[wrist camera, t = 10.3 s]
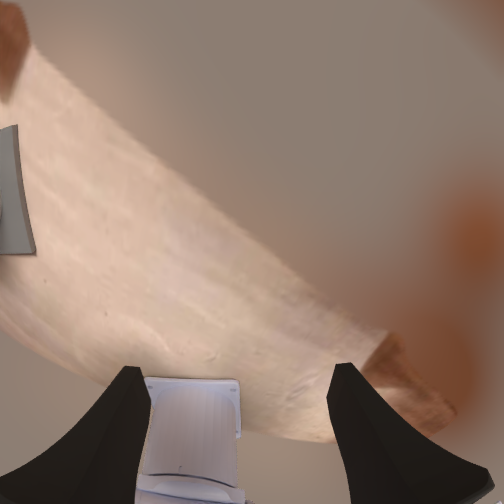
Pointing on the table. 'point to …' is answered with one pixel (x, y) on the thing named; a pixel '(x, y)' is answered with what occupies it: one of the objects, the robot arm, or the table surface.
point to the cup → (0, 205)
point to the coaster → (13, 198)
